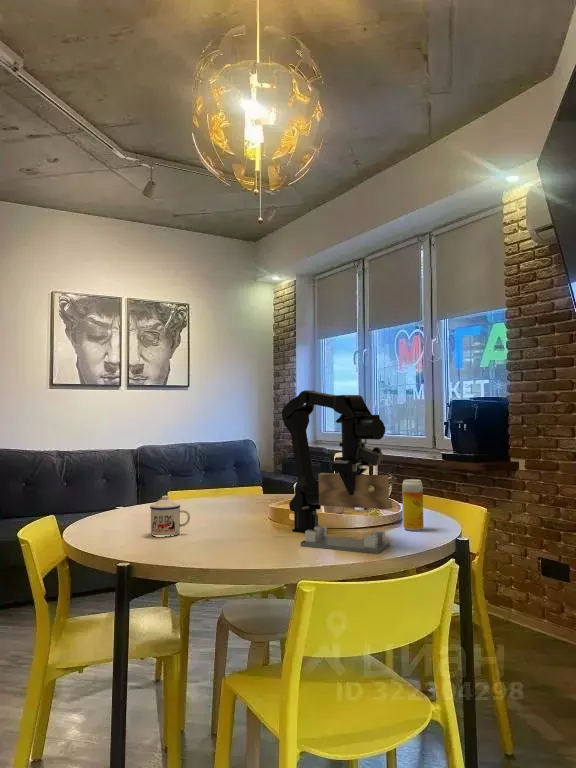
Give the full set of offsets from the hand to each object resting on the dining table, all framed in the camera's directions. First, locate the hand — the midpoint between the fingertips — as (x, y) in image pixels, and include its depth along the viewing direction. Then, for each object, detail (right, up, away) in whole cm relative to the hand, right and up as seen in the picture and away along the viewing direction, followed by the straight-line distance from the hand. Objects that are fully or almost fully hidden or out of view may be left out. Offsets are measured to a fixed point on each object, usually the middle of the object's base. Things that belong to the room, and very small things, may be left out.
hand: (353, 494), depth 167 cm
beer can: (+20, -14, +14) cm, 28 cm away
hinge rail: (-3, -13, -6) cm, 15 cm away
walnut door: (0, -4, 0) cm, 4 cm away
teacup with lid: (-54, -15, +12) cm, 57 cm away
